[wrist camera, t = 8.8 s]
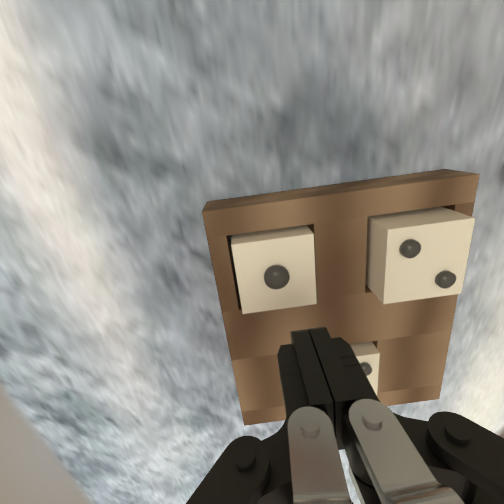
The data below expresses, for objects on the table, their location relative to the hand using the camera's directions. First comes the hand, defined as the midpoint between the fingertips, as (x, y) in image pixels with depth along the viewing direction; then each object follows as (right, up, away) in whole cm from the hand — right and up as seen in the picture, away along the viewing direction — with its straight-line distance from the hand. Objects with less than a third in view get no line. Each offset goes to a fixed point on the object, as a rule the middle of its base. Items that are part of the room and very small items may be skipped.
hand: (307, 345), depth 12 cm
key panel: (+4, 0, +11) cm, 12 cm away
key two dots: (+8, +5, +8) cm, 12 cm away
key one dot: (-1, +4, +9) cm, 10 cm away
